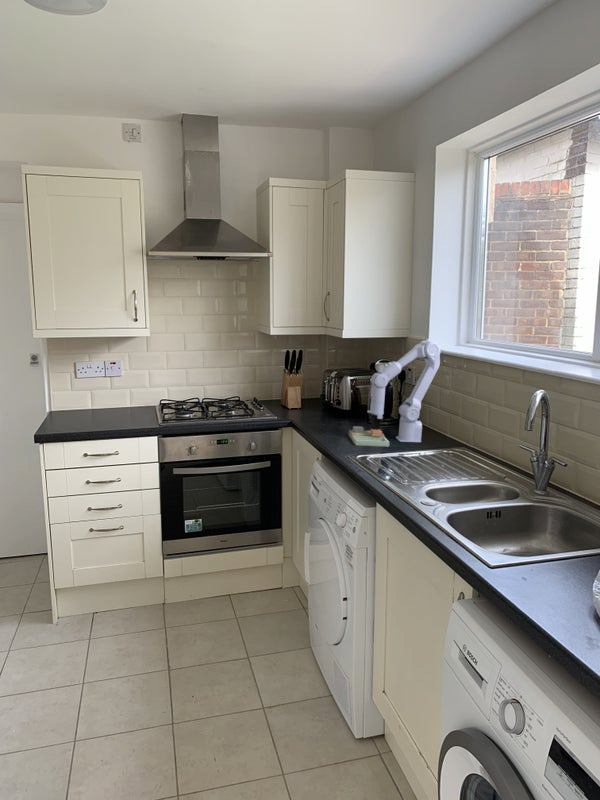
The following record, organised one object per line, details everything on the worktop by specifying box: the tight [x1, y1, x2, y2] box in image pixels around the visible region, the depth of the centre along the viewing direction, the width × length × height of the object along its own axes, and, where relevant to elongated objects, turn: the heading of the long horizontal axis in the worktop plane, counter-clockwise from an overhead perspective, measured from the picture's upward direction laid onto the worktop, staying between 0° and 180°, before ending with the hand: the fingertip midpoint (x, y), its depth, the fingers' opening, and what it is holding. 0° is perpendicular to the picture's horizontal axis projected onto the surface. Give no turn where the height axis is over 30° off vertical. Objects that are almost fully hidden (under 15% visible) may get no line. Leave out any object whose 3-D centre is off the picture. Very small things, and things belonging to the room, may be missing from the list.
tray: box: [351, 436, 390, 447], centre depth 255 cm, size 14×9×2 cm, turn 95°
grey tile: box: [352, 425, 365, 433], centre depth 264 cm, size 4×4×2 cm
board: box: [348, 429, 385, 441], centre depth 264 cm, size 14×8×2 cm, turn 95°
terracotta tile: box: [370, 428, 383, 437], centre depth 260 cm, size 4×4×2 cm
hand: (375, 431), depth 263 cm, fingers closed
